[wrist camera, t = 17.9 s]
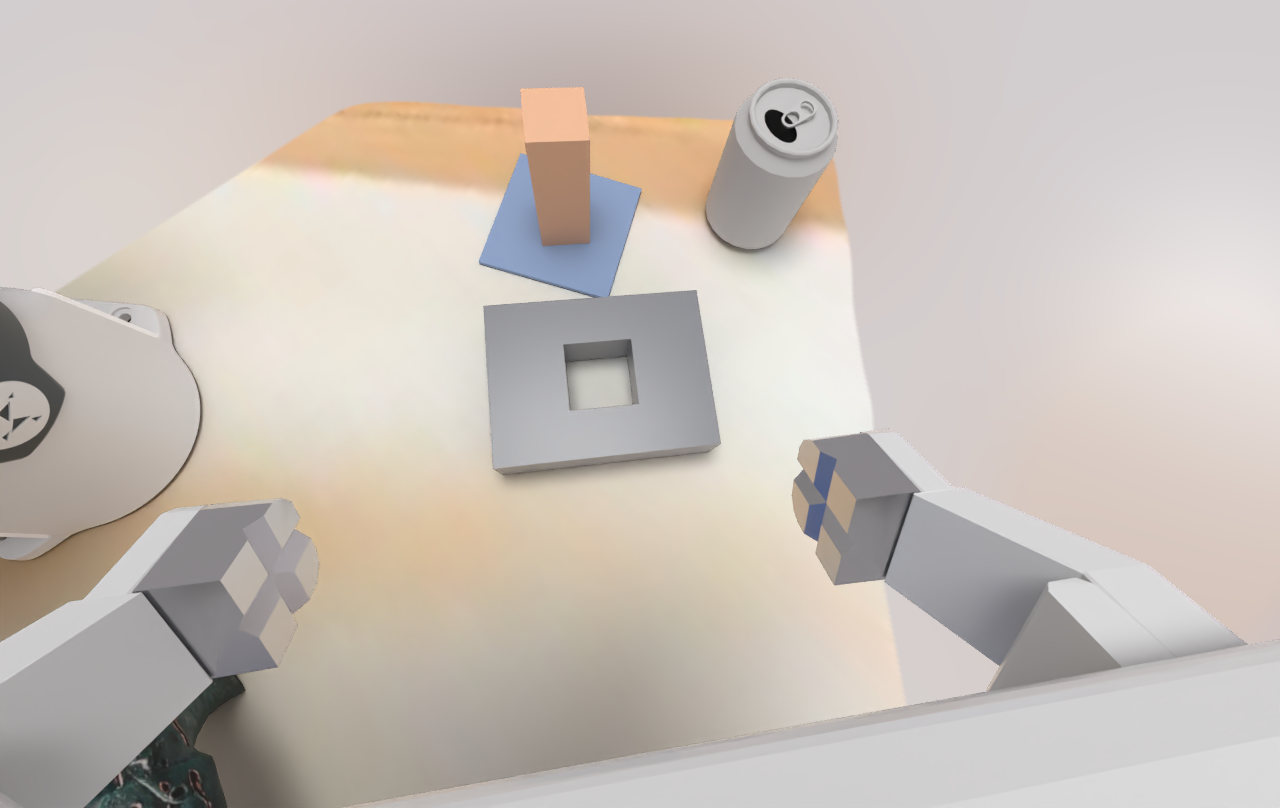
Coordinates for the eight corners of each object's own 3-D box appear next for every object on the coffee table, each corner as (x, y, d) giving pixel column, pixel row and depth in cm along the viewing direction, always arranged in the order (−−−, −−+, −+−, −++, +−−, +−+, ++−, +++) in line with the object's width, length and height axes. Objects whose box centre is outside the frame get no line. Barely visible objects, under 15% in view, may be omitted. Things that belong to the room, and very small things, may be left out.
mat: (479, 264, 43) (478, 261, 43) (521, 156, 46) (520, 153, 45) (607, 300, 43) (607, 298, 43) (641, 191, 46) (641, 188, 46)
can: (687, 202, 46) (719, 93, 35) (753, 167, 48) (805, 51, 36) (735, 268, 45) (785, 178, 34) (801, 230, 47) (871, 131, 35)
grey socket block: (502, 474, 39) (493, 468, 35) (493, 326, 42) (483, 305, 38) (708, 451, 41) (720, 443, 37) (686, 311, 44) (696, 290, 40)
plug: (542, 246, 44) (524, 142, 32) (538, 204, 44) (520, 88, 33) (590, 243, 44) (589, 140, 32) (585, 201, 45) (583, 87, 33)
